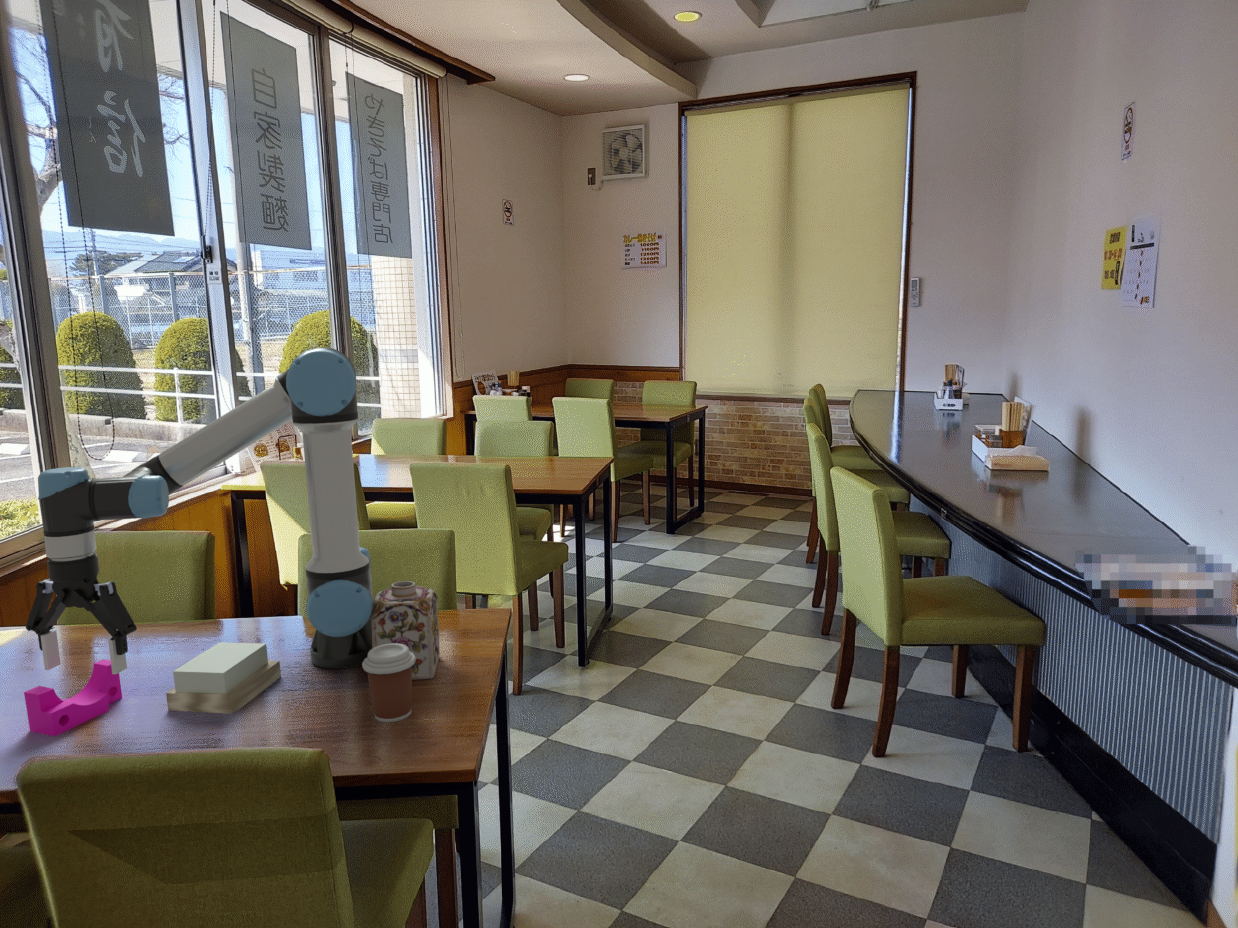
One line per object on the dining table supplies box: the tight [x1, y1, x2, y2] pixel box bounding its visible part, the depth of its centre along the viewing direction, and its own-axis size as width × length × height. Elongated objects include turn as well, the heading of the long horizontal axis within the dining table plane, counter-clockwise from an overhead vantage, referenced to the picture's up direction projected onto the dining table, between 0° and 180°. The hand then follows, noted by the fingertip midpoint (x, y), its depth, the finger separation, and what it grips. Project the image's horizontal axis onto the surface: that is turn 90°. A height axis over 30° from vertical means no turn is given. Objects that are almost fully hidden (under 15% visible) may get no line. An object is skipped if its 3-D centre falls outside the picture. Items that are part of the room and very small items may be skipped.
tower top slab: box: [172, 641, 269, 694], centre depth 160 cm, size 10×14×4 cm
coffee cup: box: [361, 643, 416, 723], centre depth 150 cm, size 9×9×12 cm
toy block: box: [23, 658, 123, 737], centre depth 153 cm, size 15×6×8 cm, turn 159°
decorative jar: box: [370, 580, 440, 681], centre depth 168 cm, size 12×12×18 cm
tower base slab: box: [165, 659, 282, 715], centre depth 161 cm, size 13×16×4 cm
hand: (86, 669), depth 152 cm, fingers open, 13 cm apart
